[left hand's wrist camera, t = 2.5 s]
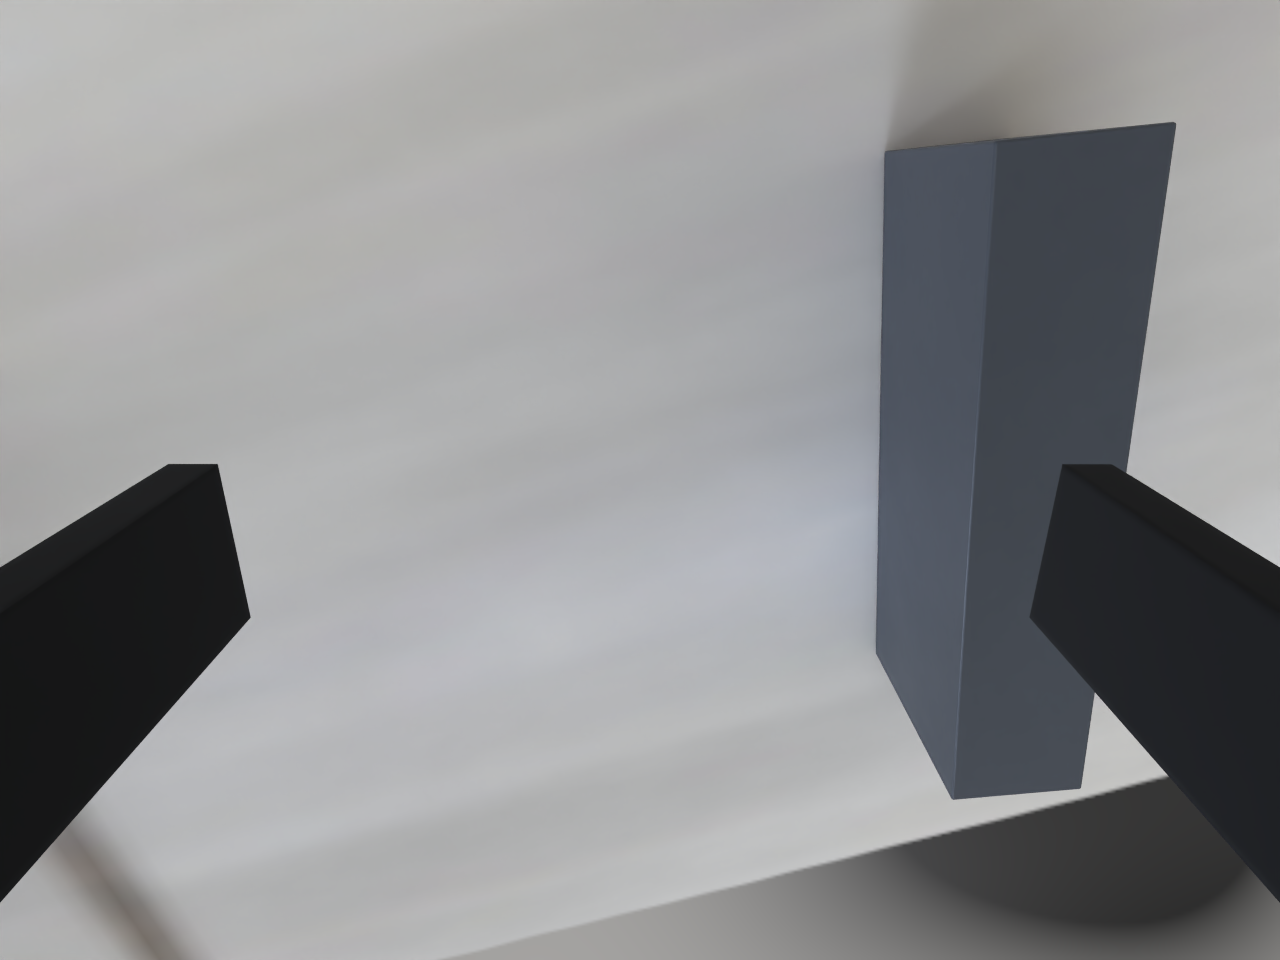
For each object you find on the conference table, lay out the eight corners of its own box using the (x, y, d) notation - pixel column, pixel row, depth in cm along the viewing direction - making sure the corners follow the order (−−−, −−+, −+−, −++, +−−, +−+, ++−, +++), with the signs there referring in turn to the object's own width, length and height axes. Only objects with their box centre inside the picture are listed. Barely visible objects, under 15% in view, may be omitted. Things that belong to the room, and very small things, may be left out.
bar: (974, 644, 37) (1081, 789, 28) (875, 653, 37) (951, 800, 28) (1011, 137, 29) (1178, 121, 20) (884, 151, 29) (994, 140, 20)
